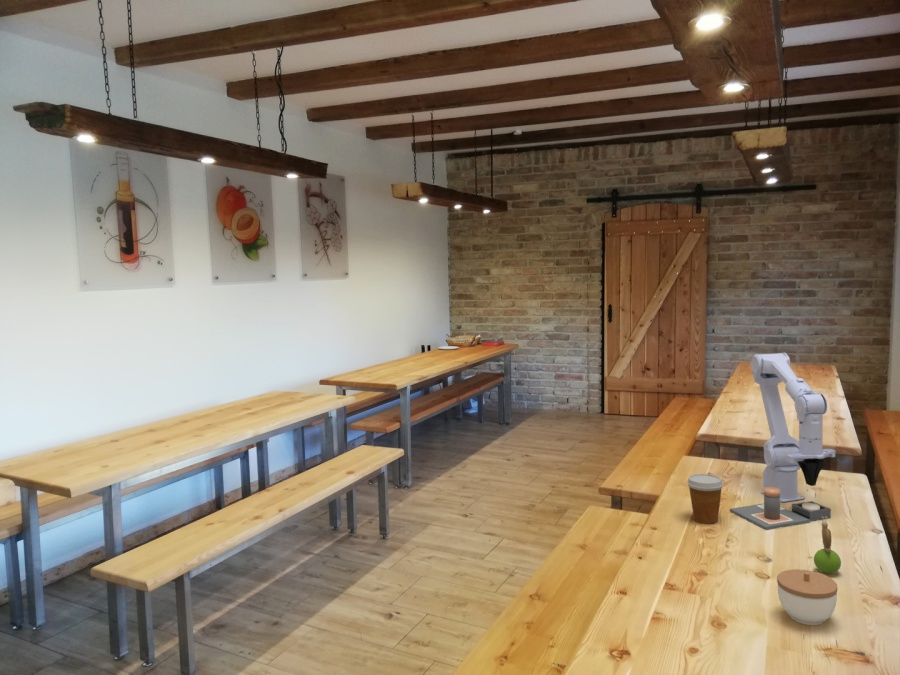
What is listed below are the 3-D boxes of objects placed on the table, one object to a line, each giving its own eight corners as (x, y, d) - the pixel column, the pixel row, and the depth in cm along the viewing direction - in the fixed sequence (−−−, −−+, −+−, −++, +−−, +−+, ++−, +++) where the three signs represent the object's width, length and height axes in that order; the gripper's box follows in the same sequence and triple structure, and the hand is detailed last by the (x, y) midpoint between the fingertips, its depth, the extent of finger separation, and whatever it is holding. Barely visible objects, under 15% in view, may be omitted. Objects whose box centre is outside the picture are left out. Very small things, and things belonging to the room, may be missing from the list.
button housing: (791, 513, 190) (791, 504, 190) (811, 509, 192) (811, 501, 192) (810, 521, 184) (810, 512, 183) (830, 518, 185) (830, 508, 185)
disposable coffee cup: (687, 524, 186) (686, 482, 185) (688, 512, 195) (687, 472, 194) (724, 527, 183) (723, 485, 181) (724, 515, 191) (723, 474, 190)
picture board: (729, 511, 194) (729, 508, 194) (771, 504, 197) (771, 501, 197) (765, 530, 180) (765, 526, 179) (809, 522, 183) (809, 519, 183)
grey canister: (760, 515, 187) (760, 488, 186) (772, 513, 188) (772, 485, 187) (771, 521, 183) (771, 492, 182) (784, 518, 184) (783, 490, 183)
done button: (798, 509, 189) (798, 504, 189) (811, 507, 190) (811, 502, 190) (810, 514, 185) (810, 509, 185) (823, 512, 186) (823, 507, 186)
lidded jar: (811, 637, 128) (811, 590, 127) (765, 612, 138) (765, 568, 137) (849, 622, 133) (850, 577, 132) (802, 599, 142) (802, 557, 142)
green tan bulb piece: (837, 566, 157) (837, 516, 155) (843, 578, 151) (843, 527, 149) (811, 564, 158) (811, 515, 157) (816, 576, 152) (816, 525, 151)
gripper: (799, 443, 180) (799, 492, 181) (844, 437, 183) (843, 485, 185) (780, 437, 187) (780, 484, 188) (823, 431, 190) (823, 478, 192)
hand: (810, 484), depth 187 cm, fingers closed
